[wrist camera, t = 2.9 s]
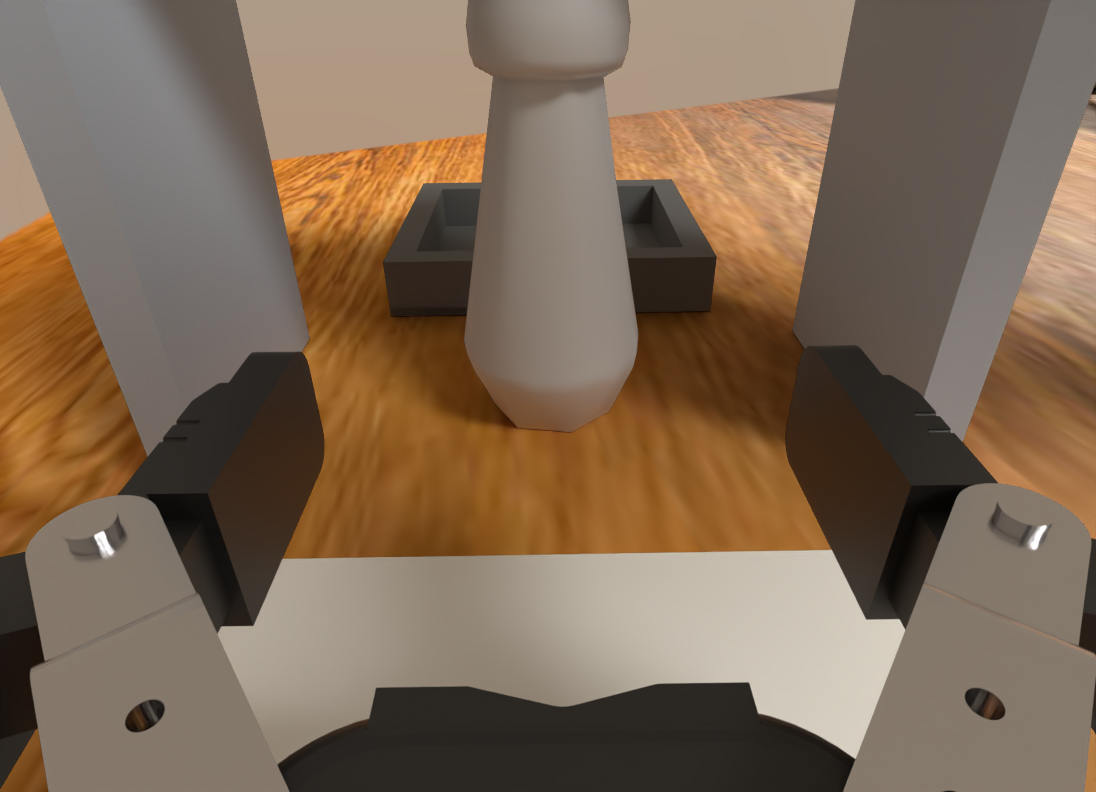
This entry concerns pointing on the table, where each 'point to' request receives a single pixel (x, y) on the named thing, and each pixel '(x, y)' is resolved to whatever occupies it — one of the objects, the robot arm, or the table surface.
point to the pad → (562, 635)
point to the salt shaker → (550, 214)
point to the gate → (262, 243)
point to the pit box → (449, 237)
